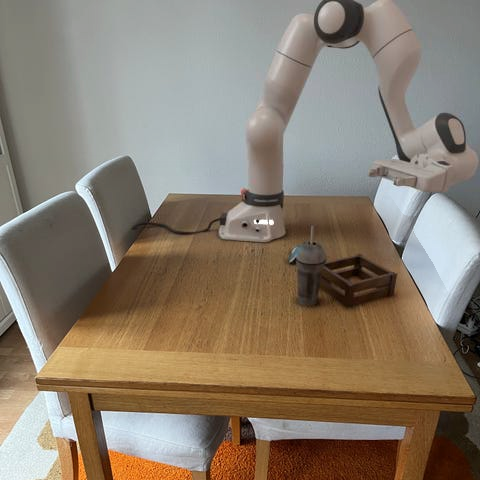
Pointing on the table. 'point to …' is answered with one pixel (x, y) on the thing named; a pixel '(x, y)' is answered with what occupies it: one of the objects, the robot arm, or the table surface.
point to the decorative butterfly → (295, 253)
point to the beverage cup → (309, 271)
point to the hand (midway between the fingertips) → (382, 177)
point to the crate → (381, 282)
